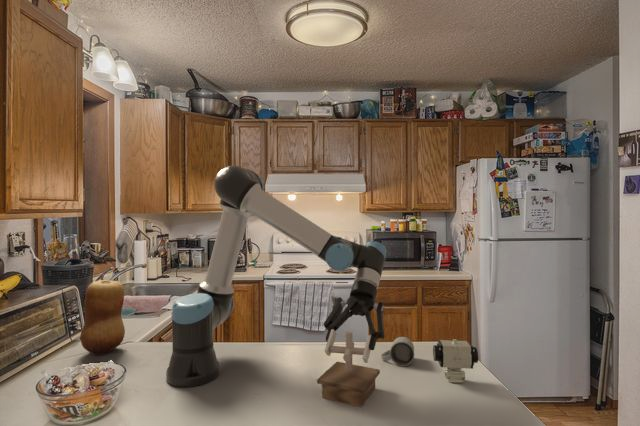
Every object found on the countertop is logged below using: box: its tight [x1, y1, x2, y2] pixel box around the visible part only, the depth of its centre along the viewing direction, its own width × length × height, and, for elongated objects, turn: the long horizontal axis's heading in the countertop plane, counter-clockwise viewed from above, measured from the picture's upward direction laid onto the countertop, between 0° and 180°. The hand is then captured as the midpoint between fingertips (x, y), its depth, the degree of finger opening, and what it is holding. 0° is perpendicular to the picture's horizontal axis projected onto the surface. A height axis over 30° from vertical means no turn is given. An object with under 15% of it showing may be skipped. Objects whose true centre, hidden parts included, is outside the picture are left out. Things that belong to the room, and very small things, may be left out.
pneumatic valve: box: [432, 338, 479, 384], centre depth 108 cm, size 6×12×12 cm, turn 83°
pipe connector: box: [330, 330, 365, 371], centre depth 102 cm, size 10×10×10 cm
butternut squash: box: [79, 279, 126, 356], centre depth 131 cm, size 14×13×25 cm
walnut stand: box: [316, 361, 381, 408], centre depth 102 cm, size 13×13×5 cm
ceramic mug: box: [380, 336, 415, 367], centre depth 123 cm, size 11×8×8 cm
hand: (345, 357), depth 100 cm, fingers closed on pipe connector, 10 cm apart
